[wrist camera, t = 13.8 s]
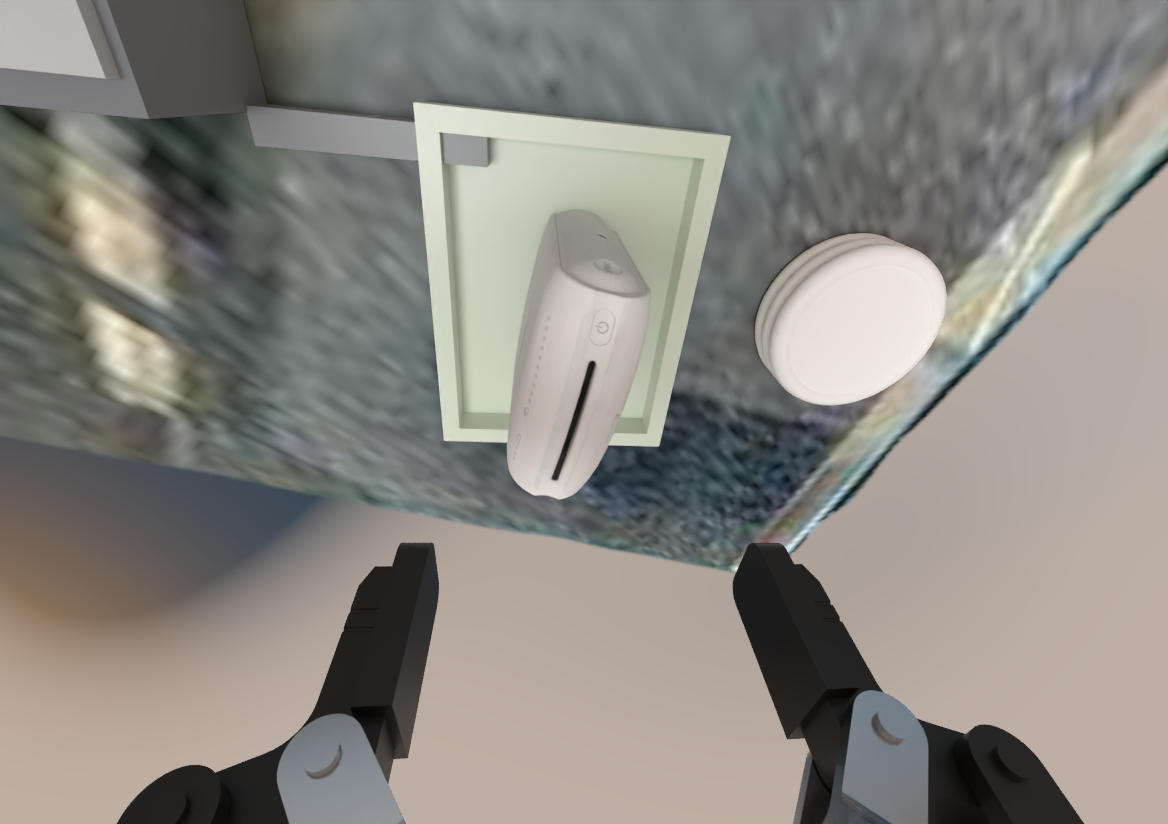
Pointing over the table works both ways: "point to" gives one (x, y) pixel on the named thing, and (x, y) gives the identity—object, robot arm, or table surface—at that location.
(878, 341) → the white round puck
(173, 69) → the dock
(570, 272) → the photo printer
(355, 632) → the robot arm
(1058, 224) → the table surface
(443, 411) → the tray
